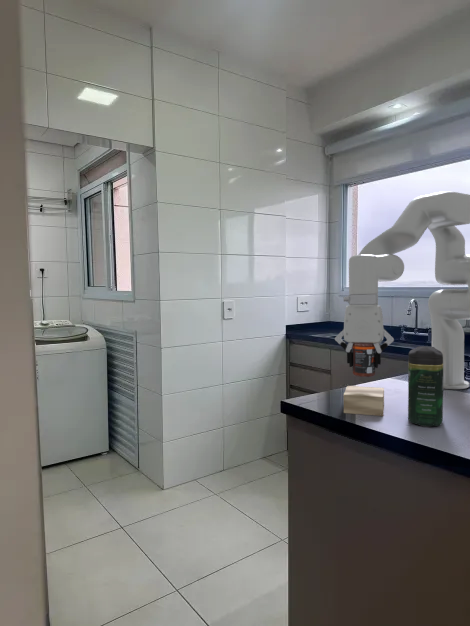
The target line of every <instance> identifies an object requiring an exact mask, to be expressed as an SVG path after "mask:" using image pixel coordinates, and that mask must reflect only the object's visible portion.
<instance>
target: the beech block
mask: <svg viewBox="0 0 470 626" xmlns="http://www.w3.org/2000/svg"><path fill="white" fill-rule="evenodd" d="M384 411H385V387H373V386H359V385H358V386H355V385H347V386H346V388H345V391H344V393H343V414H351V415H352V414H353V415H365V416H378V417H384Z"/></svg>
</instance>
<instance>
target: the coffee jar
mask: <svg viewBox="0 0 470 626" xmlns="http://www.w3.org/2000/svg"><path fill="white" fill-rule="evenodd" d="M407 356H408V361H407V362H408V365H407V367H408V373H407V374H408V380H407V382H408V383H407V384H408V385H407V386H408V389H407V391H408V392H407V394H408V395H407V396H408V397H407V399H408V400H407V406H408V407H407V418H408V421H409V423H412V424H415V425H418V426H420V427H421V426H422V427H429V428H430V427H434V426H436V427H439V426H441V425H442V424H443V421H444V420H443V419H444V418H443V417H444V389H443V354H442V352H441V351H439V350H437V349H435V348H434V347H432V346H427V345H426V346H422V345H419V346H417V347H415V348H413V349H411V350H410V351H409V352H408V355H407Z"/></svg>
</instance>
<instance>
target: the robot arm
mask: <svg viewBox="0 0 470 626" xmlns="http://www.w3.org/2000/svg"><path fill="white" fill-rule="evenodd" d="M463 225H470V194H469V193H462V192H459V191H458V192H457V191H448V190H445V191H439V192H433V193H430V194H429V193H428V194H425V195H420V196H417V197H415V198H413V199H411V201H409V203H408V205H407V206H406V207H405V208H404V210H403V211H402V213H401V214H400V216H399V217H398V218H397V220H396V221H395V222H394V224H393V225H392V226H391V227H389V228H388V229H386V230H385V231H383V232H381V234H379V235H377V236H376V237H375V238H373V239H372V240H369V242H368V243H366V244H365V246H363V248H362V249H361V250H360V251H359V253H358V254H356V255H352V256H350V258H349V259H348V295H347V296H344V297H343V302H346V303H348V305H346V306H345V311H344V318H343V319H344V321H343V329H342V331H340V332H339V333H338V334H337V335H336V336H335V337H334V340H335V342H337V343H338V344H339V345H340V346H341V348H342V349H344V350H345V352H346V363H347V364H349V365H348V367H349V368H351V367H352V368H353V352H352V349H353V343H373V344H374V346H375V369H378V368H379V365H381V364H382V362H381V361H382V360H381V359H382V358H381V355H382V354H381V353H383V352H384V350H386V349H387V348H388V347H389V346H390V345H391V344H392V343H394V341H395V339H394V337H393V336H391V334H390V333H389V332H388V331H387V330H386V329H385V328H384V318H383V310H382V306H381V305H379V282H380V283H381V282H382V283H383V282H384V283H386V282H393V281H396V280H398V279H400V278H401V277H402V276H403V274H404V271H405V263H404V261H403V259H402V258H401V257H400V256H398V255H396V254H397V253H400V252H403V251H405V250H408V249H410V248H412V247H414V246H416V244H418V243H419V241H420V239H421V238H422V236H423V235H424V233H425V232H426V230H427V229H428V230H429V232H430V233H431V235H432V237H433V240H434V242H435V260H434V261H435V262H434V276H435V277H434V278H435V281H436V283H439V284H441V285H444V286H445V285H447V286H465V285H467V287H468V288H466V289H465V288H451V289H449V288H447V289H439V290H436V291H433V292H432V293H431V295H429V298H428V301H427V303H428V310H429V316H430V321H431V322H430V324H431V325H430V326H431V347H434V348H435V349H437V350H439V351H441V352H442V354H443V390H464V389H467V388H469V387H470V382H469V381H467V380H465V332H464V329H463V326H462V325H461V323H460V322H459V320H468V321H469V320H470V254H466V240H465V236H464V234H462V232H461V231H460V230H459V228H457V227H456V226H463ZM384 337H385V338H386V341H384ZM342 338H343V339H342ZM383 341H384V342H383ZM382 342H383V343H382ZM381 343H382V344H381Z"/></svg>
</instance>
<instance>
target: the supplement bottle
mask: <svg viewBox="0 0 470 626" xmlns="http://www.w3.org/2000/svg"><path fill="white" fill-rule="evenodd" d="M352 352H353V366H352V374H353V376H356V377H362V378H370V377H374V376H375V375H376V368H375V352H376V348H375V346H374V344H373V343H353V346H352Z"/></svg>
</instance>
